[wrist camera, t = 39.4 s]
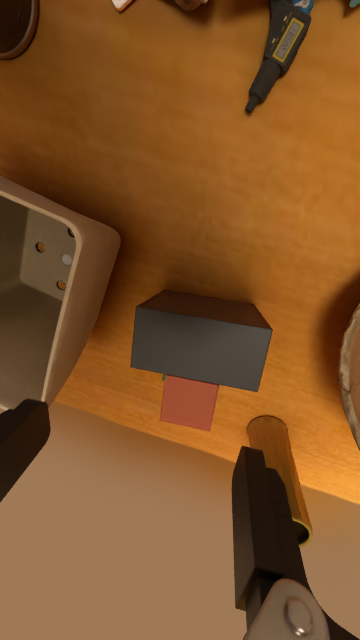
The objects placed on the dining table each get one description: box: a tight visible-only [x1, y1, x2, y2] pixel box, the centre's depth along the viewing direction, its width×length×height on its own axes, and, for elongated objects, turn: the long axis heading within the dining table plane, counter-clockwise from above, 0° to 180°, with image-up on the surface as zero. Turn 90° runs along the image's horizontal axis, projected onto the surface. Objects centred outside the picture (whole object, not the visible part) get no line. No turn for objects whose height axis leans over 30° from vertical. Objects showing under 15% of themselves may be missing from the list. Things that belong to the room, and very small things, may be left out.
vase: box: [247, 416, 312, 548], centre depth 34 cm, size 6×6×14 cm
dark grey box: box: [131, 290, 273, 431], centre depth 29 cm, size 12×12×11 cm
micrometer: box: [245, 0, 313, 113], centre depth 22 cm, size 12×2×5 cm
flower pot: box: [0, 176, 121, 411], centre depth 27 cm, size 19×19×17 cm
